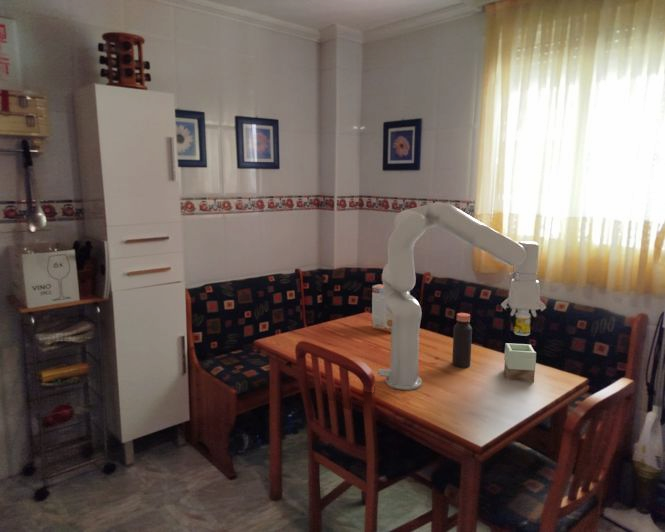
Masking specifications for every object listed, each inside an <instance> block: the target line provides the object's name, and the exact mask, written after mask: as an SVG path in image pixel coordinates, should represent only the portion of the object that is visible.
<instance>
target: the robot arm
mask: <svg viewBox="0 0 665 532" xmlns="http://www.w3.org/2000/svg"><path fill="white" fill-rule="evenodd" d="M394 227H395V228H394V229H393V231H392V233H391V235H390V236H389V239H388V242H387V243H388V244H387V263H386V264H385V265H384V267H383V270H382V274H381V277H382V278H381V279H382V285H383V289H384V298H385V304H386V307H387V309H388V311H389V312H390V313H391V314H392V316H393V323H392V329H391V332H390V366H389V368H386V369H384V368H377V369H378V370H377V374H378V375H379V376H380V377H385V383H386V384H387V385H388V386H389V387H391V388H393V389H396V390H403V391H410V390H417V389H418V388H420V387H421V386H422V385H423V380H422V378H421V377H420V376H419V375H418V373H419V372H418V371H419V346H420V344H419V343H420V341H419V340H420V339H419V337H420V326H421V320H422V313H423V312H422V307H421V305H420V303H419V301H418V300H417V299H416V297H414V296H413V295H411V291H412V290H413V289H414V287H415V286H416V280H417V279H416V270H415V260H414V248H415V244H416V242H417V241H418V240H419V239H420V238H421V237H422V236H423V235H424V234H425V233H426V231H427V230H428V229H433V228H435V227H437V228H439V229H441V230H442V231H444V232H445V233H447V234H449V235H452V236H453V237H454V238H456V239H458V240H460V241H462V243H465V244H466V245H468V246H471V247H473V248H475V249H478V250H482V251H483V252H487V253H488V254H490V255H491V257H492V258H493V259H494V260H495V261H497V262H499V263H502V264H504V265H507V266H510V267H514V268H513V269H514V270H513V272H509V277H512V279H511V282H510V285H509V291H508V297H507V298H506V299H504V301H502V302H501V304H500V305H501V307H502V308H503V309H504V310H505V311H506V312H507V313H508V314H509V315H510V317H509V318H510V319H509V324H511V326H512V328H513V327H514V326H515V313H516V312H517V309H528V310H529V311H530V312H531V314H530V315H531V323H530V329H531V328H534V326H535V325H536V317H537V316H538V315H540V314H541V312H543V311H544V310H545V309H547V306H546V304H545V303H544V302H543V301H542V300H541V287H540V286H541V285H540V281H539V280H538V279H537V277H538V268H539V267H538V265H539V250H540V248H539V247H540V245H539V243H537V242H536V241H530V240H529V241H528V240H523V241H522V240H521V241H515V240H513V239H511V238H510V237H508V236H506V235H505V234H502V233H501V232H499V231H497V230H495V229H493V228H492V227H490V226H488V225H486V224H485V223H483V222H481V221H479V220H477V219H476V218H474V217H473V216H471V215H470V214H467V213H466V212H464V211H463V210H461V209H459V208H458V207H456V206H454V205H452V204H451V203H448V202H447V203H446V202H440V201H438V202H433V203H428V204H424V205H421V206H417V207H412V208H407V209H404V210H402V211H399V213H398V214H396V216H395V218H394Z"/></svg>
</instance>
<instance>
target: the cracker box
mask: <svg viewBox="0 0 665 532" xmlns="http://www.w3.org/2000/svg"><path fill="white" fill-rule="evenodd" d="M371 287H372V289H371V290H372V293H371V295H372V298H371V299H372V300H371V328H372V329H375V330H379V331H382V332H383V331H384V332H387V333H391V329H392V323H393V316H392V314H391V313H390V312H389V311H388V309H387V307H386V304H385V298H384V289H383V283H382V284H381V283H379V284H375V285H372V286H371Z"/></svg>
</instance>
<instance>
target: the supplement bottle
mask: <svg viewBox="0 0 665 532" xmlns="http://www.w3.org/2000/svg"><path fill="white" fill-rule="evenodd" d="M514 314H515V326H514V328H513V333H514V334H515V335H516V336H521V337H522V336H525V337H527V336H529V335H531V327H530V323H531V314H530V310H528V309H516V312H515V313H514Z"/></svg>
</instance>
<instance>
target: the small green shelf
mask: <svg viewBox="0 0 665 532" xmlns="http://www.w3.org/2000/svg"><path fill="white" fill-rule="evenodd" d="M503 357H504V363H505V362H506V365H507V367H508V369H519V370H535V371H536V364H537V363H536V361H537V352H536V351H535V350H534V348H533V346H532V344H527V343H526V344H525V343H509V342H508V343H507V342H506V343H505V346H504V356H503Z"/></svg>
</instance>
